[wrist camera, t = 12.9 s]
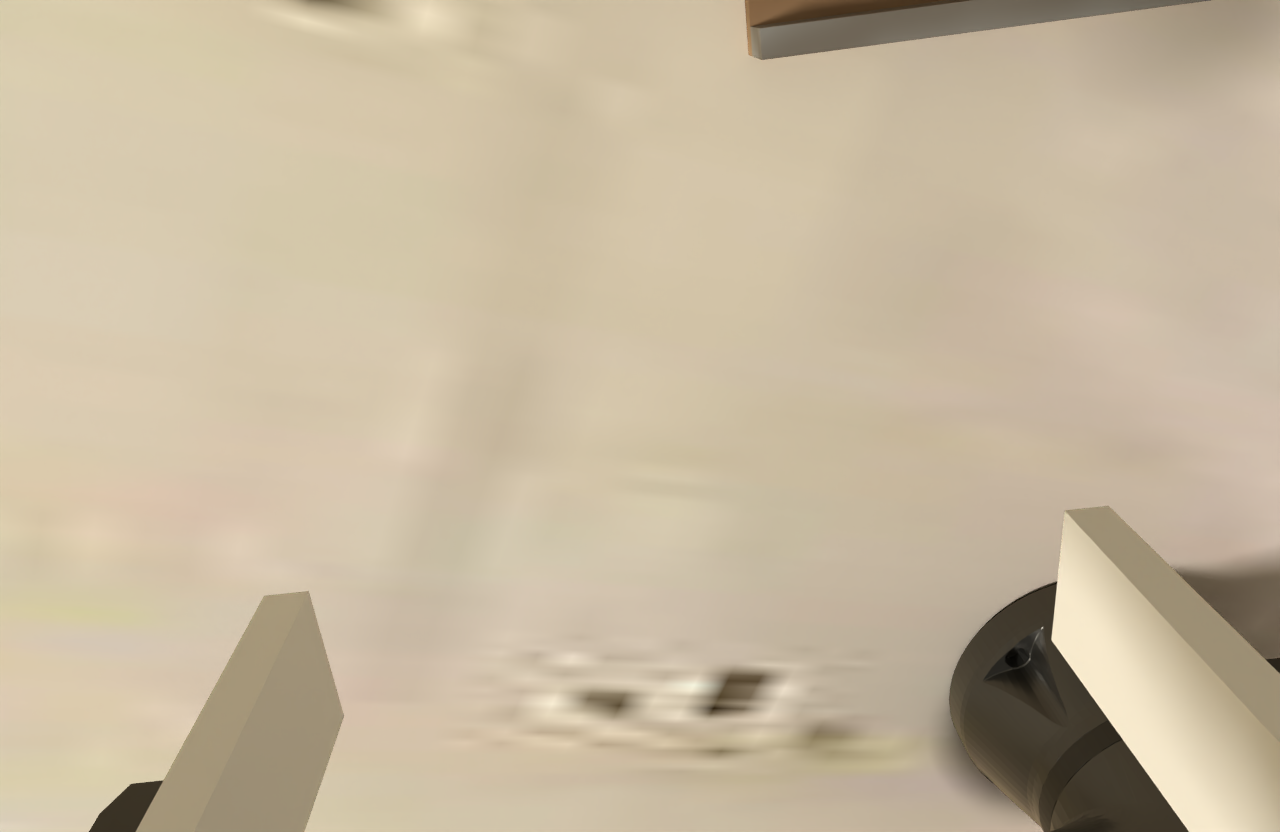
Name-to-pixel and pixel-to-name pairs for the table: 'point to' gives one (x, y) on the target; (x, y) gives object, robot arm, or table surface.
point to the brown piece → (902, 20)
